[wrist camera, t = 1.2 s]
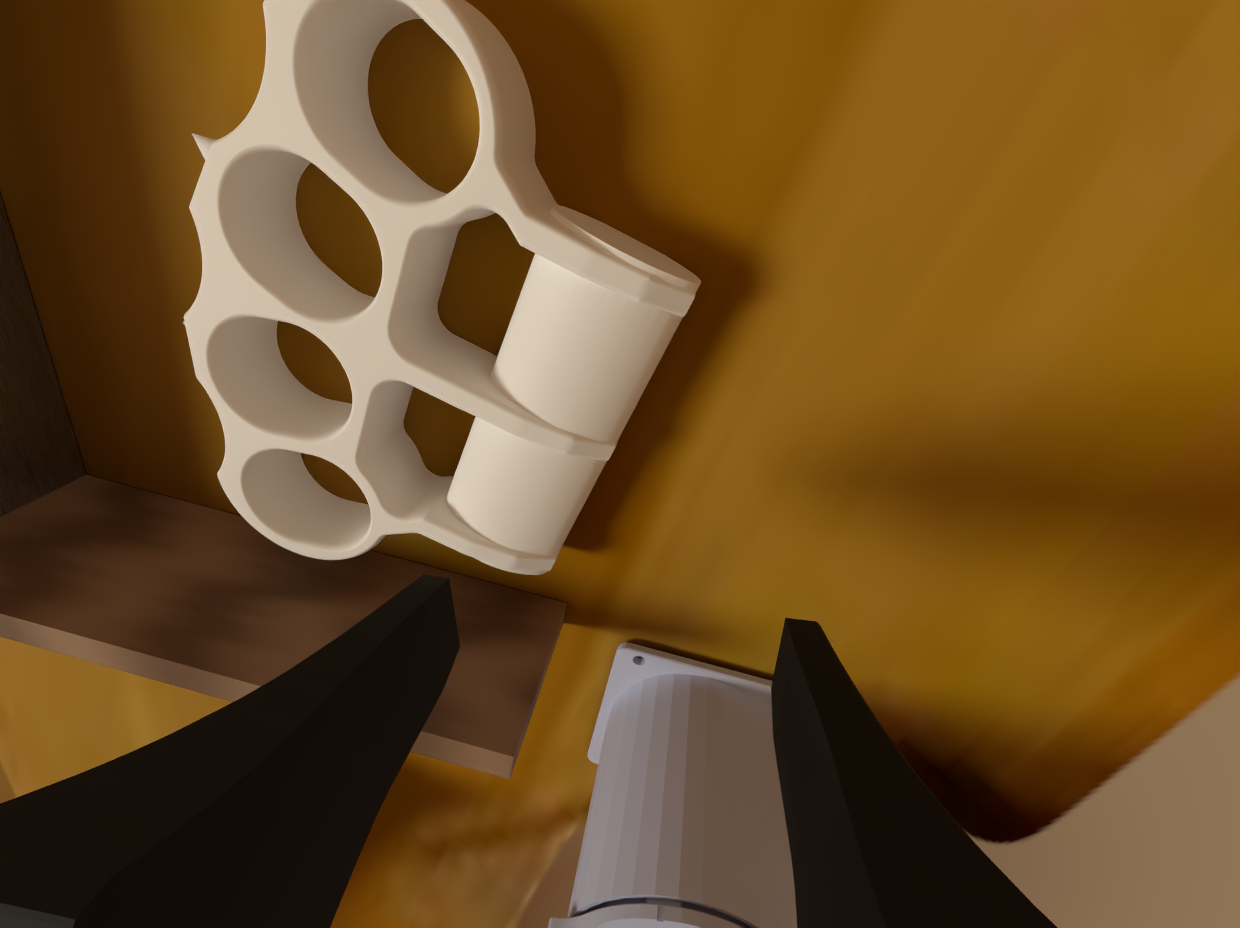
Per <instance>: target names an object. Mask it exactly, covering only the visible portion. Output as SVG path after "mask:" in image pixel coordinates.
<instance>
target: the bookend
mask: <svg viewBox="0 0 1240 928" xmlns="http://www.w3.org/2000/svg"><path fill="white" fill-rule="evenodd" d="M85 475H87V474H86V471H85V468H84V465H83V461H82V458H81V455H80V452H79V449H78V445H77V442H76V439H75V436H74V432H73V429H72V426H71V423H70V419H69V416H68V413H67V410H66V406H65V403H64V400H63V397H62V393H61V390H60V387H59V384H58V380H57V377H56V374H55V371H54V367H53V364H52V361H51V358H50V354H49V351H48V348H47V345H46V342H45V338H44V335H43V332H42V329H41V325H40V322H39V319H38V316H37V312H36V309H35V306H34V303H33V299H32V296H31V293H30V290H29V286H28V283H27V280H26V277H25V273H24V270H23V267H22V264H21V260H20V257H19V254H18V251H17V247H16V244H15V241H14V238H13V235H12V231H11V228H10V225H9V222H8V218H7V215H6V212H5V209H4V205H3V202H2V199H1V196H0V517H1V516H3V515H5V514H8V513H10V512H12V511H14V510H16V509H18V508H20V507H22V506H24V505H26V504H28V503H30V502H32V501H34V500H36V499H38V498H40V497H42V496H44V495H46V494H48V493H51V492H53V491H55V490H57V489H59V488H61V487H63V486H65V485H67V484H69V483H71V482H73V481H75V480H77V479H79V478H81V477H83V476H85Z"/></svg>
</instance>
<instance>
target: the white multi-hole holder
mask: <svg viewBox="0 0 1240 928" xmlns="http://www.w3.org/2000/svg"><path fill="white" fill-rule="evenodd" d="M263 9H264V16H265V25H266V61H265V69H264V75H263V79H262V83H261V87H260V90H259V93H258V96H257V98H256V100H255V103H254V105H253V107H252V108H251V110H250V112H249V113H248V115H247V116H246V118H245V119H244V120H243V122H242V123H241V124H240V125H239V126H238V127H237V128H236V129H235V130H233V131H232V132H231V133H229V134H228V135H226V136H224V137H222V138H220V139H218V140H217V139H213V138H209V137H205V136H201V135H197V134H193V133H192V135H193V137H194V139H195V141H196V143H197V145H198V147H199V149H200V151H201V153H202V155H203V157H204V159H205V164H204V166H203V169H202V172H201V175H200V178H199V180H198V183H197V186H196V189H195V192H194V194H193V197H192V200H191V203H190V206H189V209H190V211H191V214H192V216H193V219H194V222H195V225H196V228H197V232H198V235H199V240H200V245H201V252H202V279H201V285H200V289H199V292H198V295H197V297H196V299H195V301H194V303H193V305H192V306H191V308H190V309H189V310H188V311H187V312H186V313H185V315H184V322H182V323H183V324H184V325H185V326H186V331H187V336H188V341H189V346H190V350H191V355H192V360H193V365H194V370H195V374H196V378H197V379H198V380H199V382H200V383H201V384H202V386H203V387H204V389H205V390H206V392H207V393H208V395H209V397H210V398H211V400H212V402H213V404H214V406H215V408H216V410H217V412H218V415H219V417H220V420H221V423H222V427H223V431H224V437H225V456H224V460H223V463H222V466H221V468H220V470H219V471H218V473H217V476H218V479H219V481H220V484H221V486H222V488H223V490H224V492H225V494H226V495H227V497H228V498H229V500H230V502H231V503H232V504H233V506H234V507H235V508H236V510H237V511H238V512H239V513H240V514H241V516H242V517H243V518H244V519H245V520H246V521H247V522H248V523H249V524H250V525H251V526H253V527H254V528H255V529H256V530H257V531H258V532H260V533H261V534H262V535H264V536H265V537H267V538H268V539H270V540H271V541H273V542H274V543H276V544H278V545H280V546H281V547H283V548H286V549H288V550H290V551H292V552H295V553H298V554H300V555H304V556H307V557H311V558H316V559H323V560H342V559H348V558H353V557H356V556H359V555H361V554H364V553H366V552H367V551H369V550H371V549H372V548H374V547H375V546H376V545H377V544H379V543H380V542H381V541H382V540H383V538H384V537H385V536H386V535H390V534H404V533H419V534H422V535H424V536H426V537H428V538H430V539H432V540H435V541H437V542H439V543H441V544H443V545H445V546H447V547H450V548H452V549H454V550H456V551H458V552H460V553H463V554H465V555H468V556H471V557H473V558H475V559H477V560H479V561H481V562H483V563H485V564H488V565H490V566H493V567H495V568H498V569H501V570H505V571H509V572H513V573H518V574H526V575H541V574H544V573H546V572H547V571H550V570H551V568H552V566H553V565H554V563H555V561H556V558H557V556H558V554H559V551H560V549H561V547H562V545H563V543H564V542H565V540H566V538H567V536H568V534H569V532H570V530H571V528H572V526H573V524H574V523H575V521H576V519H577V517H578V515H579V513H580V511H581V509H582V507H583V506H584V504H585V502H586V500H587V498H588V496H589V494H590V492H591V490H592V488H593V487H594V485H595V483H596V481H597V479H598V477H599V475H600V473H601V471H602V470H603V468H604V466H605V464H606V462H607V461H608V460H609V459H610V457H611V455H612V453H613V451H614V449H615V447H616V445H617V442H618V439H619V437H620V435H621V434H622V432H623V430H624V428H625V426H626V424H627V422H628V420H629V418H630V416H631V415H632V413H633V411H634V409H635V407H636V405H637V403H638V401H639V399H640V398H641V396H642V394H643V392H644V390H645V388H646V386H647V384H648V382H649V380H650V379H651V377H652V375H653V373H654V371H655V369H656V367H657V365H658V363H659V362H660V360H661V358H662V356H663V354H664V352H665V350H666V348H667V346H668V344H669V343H670V341H671V339H672V337H673V335H674V333H675V331H676V329H677V327H678V326H679V324H680V322H681V320H682V318H683V316H685V315H686V313H687V311H688V310H689V308H690V306H691V304H692V302H693V300H694V298H695V294H696V291H697V290H698V288H699V286H700V284H701V280H700V279H699V278H698V277H697V276H696V275H694V274H693V273H692V272H690V271H689V270H688V269H686V268H685V267H683V266H681V265H680V264H678V263H677V262H675V261H674V260H672V259H670V258H669V257H667V256H666V255H664V254H662V253H660V252H658V251H656V250H654V249H652V248H650V247H649V246H647V245H645V244H643V243H641V242H639V241H637V240H635V239H633V238H631V237H630V236H628V235H626V234H624V233H622V232H620V231H618V230H616V229H614V228H612V227H611V226H609V225H607V224H605V223H603V222H601V221H598V220H596V219H594V218H592V217H589V216H587V215H585V214H582V213H580V212H577V211H575V210H572V209H570V208H567V207H564V206H560V205H558V204H557V203H556V202H555V200H554V198H553V196H552V194H551V192H550V191H549V189H548V187H547V185H546V183H545V181H544V180H543V178H542V176H541V174H540V172H539V170H538V168H537V166H536V164H535V158H534V156H535V143H536V130H535V117H534V110H533V105H532V100H531V96H530V92H529V88H528V85H527V82H526V79H525V77H524V74H523V72H522V69H521V67H520V65H519V63H518V61H517V59H516V57H515V55H514V53H513V51H512V50H511V48H510V46H509V45H508V43H507V42H506V40H505V39H504V37H503V36H502V35H501V33H500V32H499V31H498V30H497V28H496V27H495V26H494V25H493V24H492V23H491V22H490V21H489V20H488V19H487V18H486V17H485V16H484V15H483V14H482V13H481V12H480V11H479V10H477V9H476V8H475V7H474V6H472V5H471V4H470V3H468V2H467V1H465V0H264V2H263ZM412 19H423V20H424V21H425V22H426V23H427V24H428V25H429V26H430V27H431V28H432V29H433V30H434V31H435V32H436V33H437V34H438V35H439V36H440V37H441V38H442V39H443V40H444V41H445V42H446V43H447V44H448V45H449V46H450V47H451V49H452V50H453V51H454V52H455V53H456V55H457V56H458V58H459V59H460V61H461V62H462V64H463V66H464V67H465V69H466V71H467V73H468V75H469V77H470V80H471V82H472V85H473V88H474V91H475V94H476V98H477V103H478V108H479V117H480V135H479V143H478V148H477V152H476V156H475V159H474V161H473V164H472V166H471V168H470V170H469V172H468V173H467V175H466V177H465V178H464V179H463V181H462V182H461V183H460V184H459V185H458V186H457V187H456V188H455V189H453V190H452V191H451V192H449V193H448V194H446V193H443V192H441V191H438V190H436V189H434V188H432V187H431V186H429V185H428V184H426V183H425V182H424V181H422V180H421V179H420V178H419V177H418V176H417V175H416V174H415V173H414V172H413V171H412V170H410V169H409V168H408V167H407V166H406V165H405V164H404V163H403V162H402V161H401V160H400V159H399V158H398V157H397V156H396V155H395V154H394V153H393V152H392V151H391V150H390V149H389V147H388V146H387V145H386V143H385V142H384V140H383V139H382V137H381V135H380V133H379V131H378V129H377V127H376V125H375V122H374V119H373V116H372V113H371V109H370V105H369V99H368V73H369V67H370V63H371V60H372V57H373V54H374V52H375V50H376V48H377V46H378V44H379V43H380V41H381V40H382V38H383V37H384V36H385V35H386V34H387V33H388V32H389V31H390V30H391V29H392V28H394V27H395V26H397V25H399V24H401V23H403V22H405V21H408V20H412ZM310 163H313V164H314V165H316V166H317V167H318V168H319V169H321V170H322V171H323V172H324V173H325V174H326V175H327V176H329V177H330V178H331V179H332V180H333V181H334V182H335V183H336V184H338V185H339V186H340V187H341V188H342V189H343V190H344V191H345V192H347V193H348V194H349V195H350V196H351V197H352V198H353V199H354V200H355V201H356V203H357V204H358V205H359V206H360V207H361V209H362V210H363V211H364V213H365V214H366V216H367V218H368V219H369V221H370V223H371V225H372V227H373V229H374V231H375V234H376V236H377V239H378V242H379V246H380V250H381V255H382V280H381V284H380V288H379V291H378V293H377V295H376V297H371V296H368V295H366V294H363V293H361V292H359V291H357V290H355V289H354V288H352V287H351V286H350V285H348V284H347V283H346V282H345V281H343V280H342V279H341V278H340V277H339V276H338V275H336V274H335V273H334V272H333V271H332V270H331V269H329V268H328V267H327V266H326V265H325V264H324V263H323V262H322V261H321V260H320V259H319V258H318V257H317V256H316V255H315V254H314V252H313V251H312V249H311V248H310V246H309V245H308V243H307V241H306V240H305V238H304V235H303V233H302V231H301V228H300V225H299V222H298V218H297V212H296V191H297V186H298V183H299V180H300V178H301V176H302V174H303V172H304V170H305V169H306V168H307V167H308V165H309V164H310ZM494 213H497V214H499V215H500V216H501V217H502V218H503V219H504V220H505V221H506V222H507V224H508V225H509V227H510V229H511V231H512V232H513V234H514V236H515V238H516V239H517V241H518V243H519V244H520V246H522V247H524V248H526V249H528V250H530V251H532V252H534V253H535V255H534V258H533V261H532V263H531V266H530V269H529V272H528V274H527V277H526V280H525V283H524V285H523V288H522V291H521V293H520V296H519V299H518V302H517V304H516V307H515V310H514V313H513V315H512V318H511V321H510V324H509V326H508V329H507V332H506V335H505V337H504V340H503V343H502V346H501V348H500V351H499V354H498V356H496V355H494V354H492V353H490V352H488V351H486V350H484V349H482V348H480V347H478V346H476V345H474V344H472V343H470V342H468V341H466V340H464V339H462V338H460V337H458V336H456V335H454V334H452V333H451V332H450V331H448V330H447V329H446V328H445V326H444V325H443V324H442V322H441V320H440V318H439V315H438V300H439V297H440V293H441V290H442V287H443V283H444V280H445V276H446V273H447V269H448V266H449V262H450V259H451V256H452V252H453V249H454V245H455V242H456V238H457V235H458V232H459V230H460V228H461V227H462V226H463V225H464V224H465V223H466V222H468V221H472V220H476V219H481V218H484V217H487V216H490V215H492V214H494ZM278 321H282V322H287V323H291V324H294V325H297V326H299V327H301V328H304V329H305V330H307V331H309V332H311V333H312V334H314V335H315V336H316V337H318V338H319V339H320V340H321V341H323V342H324V343H325V344H326V345H327V346H328V347H329V348H330V349H331V351H332V352H333V353H334V354H335V355H336V357H337V358H338V360H339V361H340V363H341V364H342V366H343V368H344V370H345V372H346V374H347V376H348V379H349V382H350V385H351V390H352V404H351V403H346V402H341V401H336V400H331V399H327V398H324V397H321V396H319V395H317V394H315V393H313V392H312V391H310V390H309V389H307V388H306V387H305V386H303V385H302V384H301V383H300V382H299V381H298V380H297V379H296V378H295V377H294V376H293V375H292V373H291V372H290V371H289V369H288V368H287V366H286V364H285V363H284V361H283V359H282V356H281V354H280V351H279V348H278V343H277V325H278ZM413 387H415V388H418V389H420V390H422V391H424V392H426V393H428V394H430V395H432V396H434V397H436V398H438V399H440V400H442V401H444V402H446V403H448V404H450V405H452V406H455V407H457V408H459V409H461V410H464V411H466V412H468V413H470V414H472V415H474V416H476V417H475V420H474V422H473V425H472V428H471V431H470V433H469V436H468V439H467V442H466V444H465V447H464V450H463V453H462V455H461V458H460V461H459V464H458V466H457V469H456V472H455V475H454V476H448V477H441V476H437V475H435V474H433V473H431V472H430V471H429V470H428V469H427V468H426V467H425V465H424V463H423V461H422V458H421V455H420V453H419V451H418V449H417V447H416V446H415V444H414V443H413V441H412V440H411V438H410V437H409V436H408V435H407V433H406V431H405V429H404V417H405V414H406V411H407V407H408V404H409V400H410V397H411V393H412V390H413ZM301 453H304V454H309V455H314V456H317V457H320V458H323V459H325V460H327V461H329V462H331V463H333V464H335V465H336V466H338V467H339V468H341V469H342V470H343V471H345V472H346V473H347V474H348V475H349V476H350V477H351V478H352V479H353V480H354V481H355V482H356V483H357V485H358V486H359V487H360V489H361V490H362V492H363V493H364V495H365V497H366V499H367V502H368V504H364V503H359V502H354V501H349V500H346V499H342V498H340V497H337V496H335V495H333V494H332V493H330V492H328V491H327V490H325V489H324V488H323V487H322V486H320V485H319V484H318V483H317V482H316V481H315V480H314V479H313V477H312V476H311V475H310V473H309V472H308V470H307V469H306V467H305V465H304V463H303V460H302V457H301Z"/></svg>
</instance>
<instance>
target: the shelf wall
mask: <svg viewBox="0 0 1240 928" xmlns="http://www.w3.org/2000/svg"><path fill="white" fill-rule="evenodd" d="M422 575H429V576H438V577H446V578H449V579H450V585H451V591H452V598H453V604H454V610H455V617H456V623H457V629H458V635H459V642H460V648H459V651H458V654H457V656H456V659H455V662H454V664H453V667H452V669H451V672H450V674H449V677H448V679H447V682H446V684H445V687H444V689H443V691H442V693H441V695H440V697H439V699H438V701H437V703H436V704H435V706H434V708H433V710H432V712H431V714H430V716H429V717H428V719H427V721H426V723H425V725H424V727H423V729H422V730H421V732H420V734H419V736H418V738H417V740H416V741H415V743H414V745H413V747H412V749H411V750H410V752H413V753H417V754H421V755H424V756H428V757H431V758H435V759H438V760H442V761H445V762H449V763H453V764H456V765H460V766H463V767H467V768H470V769H474V770H477V771H481V772H485V773H488V774H492V775H495V776H499V777H502V778H506V779H510V777H511V774H512V771H513V768H514V765H515V762H516V759H517V756H518V753H519V750H520V748H521V745H522V742H523V739H524V736H525V733H526V730H527V727H528V724H529V721H530V718H531V715H532V712H533V709H534V707H535V704H536V701H537V698H538V695H539V692H540V689H541V686H542V683H543V680H544V677H545V674H546V671H547V668H548V666H549V663H550V660H551V657H552V654H553V651H554V648H555V645H556V642H557V639H558V636H559V633H560V630H561V628H562V625H563V620H564V616H565V611H566V606H567V603H565V602H561V601H557V600H553V599H550V598H546V597H542V596H538V595H535V594H531V593H527V592H523V591H520V590H516V589H512V588H509V587H505V586H501V585H497V584H494V583H490V582H486V581H482V580H479V579H475V578H471V577H467V576H464V575H460V574H456V573H452V572H449V571H445V570H441V569H437V568H434V567H430V566H426V565H422V564H419V563H415V562H411V561H407V560H404V559H400V558H396V557H392V556H389V555H385V554H381V553H377V552H374V551H370V550H369V551H367V552H366V553H364V554H361V555H359V556H356V557H353V558H348V559H342V560H323V559H316V558H311V557H307V556H304V555H300V554H298V553H295V552H292V551H290V550H288V549H286V548H283V547H281V546H280V545H278V544H276V543H274V542H273V541H271V540H270V539H268V538H267V537H265V536H264V535H262V534H261V533H260V532H258V531H257V530H256V529H255V528H254V527H253V526H251V525H250V524H249V523H248V522H247V521H246V520H245V519H244V518H243V517H242V516H239V515H235V514H231V513H228V512H224V511H220V510H216V509H213V508H209V507H205V506H201V505H198V504H194V503H190V502H186V501H183V500H179V499H175V498H171V497H168V496H164V495H160V494H156V493H153V492H149V491H145V490H141V489H138V488H134V487H130V486H126V485H123V484H119V483H115V482H111V481H108V480H104V479H100V478H96V477H93V476H89V475H85V476H83V477H81V478H79V479H77V480H75V481H73V482H71V483H69V484H67V485H65V486H63V487H61V488H59V489H57V490H55V491H53V492H51V493H48V494H46V495H44V496H42V497H40V498H38V499H36V500H34V501H32V502H30V503H28V504H26V505H24V506H22V507H20V508H18V509H16V510H14V511H12V512H10V513H8V514H5V515H3V516H1V517H0V637H4V638H8V639H11V640H15V641H18V642H22V643H25V644H29V645H32V646H36V647H40V648H43V649H47V650H50V651H54V652H57V653H61V654H64V655H68V656H72V657H75V658H79V659H82V660H86V661H89V662H93V663H97V664H100V665H104V666H107V667H111V668H114V669H118V670H121V671H125V672H129V673H132V674H136V675H139V676H143V677H146V678H150V679H153V680H157V681H161V682H164V683H168V684H171V685H175V686H178V687H182V688H186V689H189V690H193V691H196V692H200V693H203V694H207V695H210V696H214V697H218V698H221V699H225V700H228V701H232V702H234V701H236V700H238V699H240V698H242V697H243V696H245V695H247V694H249V693H250V692H252V691H254V690H256V689H257V688H259V687H261V686H263V685H264V684H266V683H268V682H270V681H271V680H273V679H274V678H276V677H278V676H279V675H281V674H283V673H284V672H286V671H288V670H289V669H291V668H292V667H294V666H295V665H297V664H298V663H300V662H301V661H303V660H304V659H306V658H307V657H309V656H310V655H312V654H313V653H315V652H316V651H318V650H319V649H321V648H322V647H324V646H325V645H327V644H328V643H330V642H331V641H333V640H334V639H336V638H337V637H339V636H340V635H342V634H343V633H344V632H346V631H347V630H349V629H350V628H351V627H353V626H354V625H355V624H357V623H358V622H360V621H361V620H362V619H364V618H365V617H366V616H368V615H369V614H371V613H372V612H373V611H375V610H376V609H377V608H379V607H380V606H381V605H383V604H384V603H385V602H387V601H388V600H389V599H391V598H392V597H393V596H395V595H396V594H397V593H399V592H400V591H401V590H403V589H404V588H406V587H407V586H408V585H410V584H411V583H412V582H414V581H415V580H417V579H418V578H419V577H421V576H422Z"/></svg>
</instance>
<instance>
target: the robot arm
mask: <svg viewBox="0 0 1240 928" xmlns="http://www.w3.org/2000/svg"><path fill="white" fill-rule="evenodd" d="M459 648H460V642H459V635H458V629H457V623H456V617H455V610H454V604H453V598H452V591H451V585H450V579H449V578H446V577H438V576H429V575H422V576H421V577H419V578H418V579H417V580H415V581H414V582H412V583H411V584H410V585H408V586H407V587H406V588H404V589H403V590H401V591H400V592H399V593H397V594H396V595H395V596H393V597H392V598H391V599H389V600H388V601H387V602H385V603H384V604H383V605H381V606H380V607H379V608H377V609H376V610H375V611H373V612H372V613H371V614H369V615H368V616H366V617H365V618H364V619H362V620H361V621H360V622H358V623H357V624H355V625H354V626H353V627H351V628H350V629H349V630H347V631H346V632H344V633H343V634H342V635H340V636H339V637H337V638H336V639H334V640H333V641H331V642H330V643H328V644H327V645H325V646H324V647H322V648H321V649H319V650H318V651H316V652H315V653H313V654H312V655H310V656H309V657H307V658H306V659H304V660H303V661H301V662H300V663H298V664H297V665H295V666H294V667H292V668H291V669H289V670H288V671H286V672H284V673H283V674H281V675H279V676H278V677H276V678H274V679H273V680H271V681H270V682H268V683H266V684H264V685H263V686H261V687H259V688H257V689H256V690H254V691H252V692H250V693H249V694H247V695H245V696H243V697H242V698H240V699H238V700H236V701H234V702H233V703H231V704H229V705H227V706H225V707H223V708H221V709H219V710H217V711H215V712H213V713H211V714H209V715H207V716H205V717H203V718H202V719H200V720H198V721H196V722H194V723H192V724H190V725H188V726H186V727H184V728H182V729H180V730H178V731H176V732H174V733H172V734H170V735H168V736H165V737H163V738H161V739H159V740H157V741H155V742H152V743H150V744H148V745H146V746H144V747H141V748H139V749H137V750H135V751H133V752H130V753H128V754H126V755H123V756H121V757H119V758H116V759H114V760H112V761H109V762H107V763H105V764H102V765H100V766H97V767H95V768H93V769H90V770H88V771H85V772H83V773H80V774H78V775H75V776H73V777H70V778H67V779H65V780H62V781H59V782H57V783H54V784H52V785H49V786H46V787H44V788H41V789H38V790H36V791H33V792H30V793H28V794H25V795H23V796H20V797H17V798H15V799H12V800H9V801H6V802H4V803H1V804H0V928H330V926H331V924H332V921H333V919H334V916H335V913H336V911H337V908H338V906H339V904H340V901H341V899H342V896H343V894H344V891H345V889H346V886H347V884H348V882H349V879H350V877H351V874H352V872H353V869H354V867H355V864H356V862H357V860H358V857H359V855H360V853H361V850H362V848H363V846H364V843H365V841H366V839H367V836H368V834H369V832H370V830H371V827H372V825H373V823H374V820H375V818H376V816H377V813H378V811H379V809H380V807H381V805H382V803H383V801H384V799H385V797H386V795H387V793H388V791H389V789H390V787H391V785H392V783H393V782H394V780H395V778H396V776H397V774H398V772H399V771H400V769H401V767H402V765H403V763H404V761H405V760H406V758H407V756H408V754H409V752H410V750H411V749H412V747H413V745H414V743H415V741H416V740H417V738H418V736H419V734H420V732H421V730H422V729H423V727H424V725H425V723H426V721H427V719H428V717H429V716H430V714H431V712H432V710H433V708H434V706H435V704H436V703H437V701H438V699H439V697H440V695H441V693H442V691H443V689H444V687H445V684H446V682H447V679H448V677H449V674H450V672H451V669H452V667H453V664H454V662H455V659H456V656H457V654H458V651H459ZM636 656H641V657H643V658H638V657H636ZM588 758H589V760H590V761H592V762H593V763H596V764H598V769H597V774H596V779H595V784H594V789H593V794H592V798H591V803H590V808H589V813H588V818H587V823H586V828H585V833H584V838H583V843H582V848H581V853H580V858H579V863H578V868H577V873H576V878H575V883H574V887H573V893H572V898H571V902H570V907H569V912H568V917H565V918H563V917H552V918H550V921H549V926H548V928H1057V927H1056V926H1055V925H1054V924H1053V923H1052V922H1051V921H1050V920H1049V919H1048V918H1047V917H1046V916H1045V915H1044V914H1043V913H1042V912H1041V911H1040V910H1038V909H1037V908H1036V907H1035V906H1034V905H1033V904H1032V903H1031V902H1030V900H1029V899H1028V898H1027V897H1026V896H1025V895H1024V894H1023V893H1022V892H1021V891H1020V890H1019V889H1018V888H1017V887H1016V886H1015V885H1014V884H1013V883H1012V882H1011V881H1010V880H1009V879H1008V877H1007V876H1006V875H1005V874H1004V873H1003V872H1002V871H1001V870H1000V869H999V868H998V867H997V866H996V865H995V864H994V863H993V862H992V861H991V860H990V859H989V858H988V857H987V856H986V855H985V854H984V852H983V851H982V850H981V849H980V848H979V847H978V846H977V845H976V844H975V843H974V842H973V840H972V839H971V838H970V837H969V836H968V835H967V834H966V832H965V831H964V830H963V829H962V828H961V827H960V826H959V824H958V823H957V822H956V821H955V820H954V819H953V818H952V816H951V815H950V814H949V813H948V812H947V811H946V809H945V808H944V807H943V806H942V805H941V803H940V802H939V801H938V800H937V799H936V797H935V796H934V795H933V794H932V792H931V791H930V790H929V789H928V788H927V786H926V785H925V784H924V783H923V781H922V780H921V779H920V777H919V776H918V775H917V774H916V772H915V771H914V770H913V768H912V767H911V766H910V764H909V763H908V762H907V760H906V759H905V758H904V756H903V755H902V754H901V752H900V751H899V750H898V748H897V747H896V745H895V744H894V743H893V741H892V740H891V739H890V737H889V736H888V734H887V733H886V732H885V730H884V729H883V727H882V726H881V724H880V723H879V721H878V720H877V718H876V717H875V715H874V714H873V712H872V711H871V709H870V708H869V706H868V705H867V703H866V702H865V700H864V699H863V697H862V696H861V694H860V693H859V691H858V690H857V688H856V686H855V685H854V683H853V682H852V680H851V678H850V677H849V675H848V673H847V672H846V670H845V668H844V667H843V665H842V663H841V662H840V660H839V658H838V656H837V655H836V653H835V651H834V650H833V648H832V646H831V644H830V642H829V641H828V639H827V637H826V635H825V633H824V631H823V630H822V628H821V626H820V625H819V624H818V623H817V622H815V621H807V620H798V619H790V618H785V623H784V628H783V633H782V638H781V643H780V648H779V652H778V657H777V662H776V667H775V672H774V677H773V681H770V680H767V679H763V678H759V677H756V676H752V675H748V674H744V673H741V672H737V671H733V670H730V669H726V668H722V667H718V666H715V665H711V664H707V663H703V662H700V661H696V660H692V659H689V658H685V657H681V656H677V655H674V654H670V653H666V652H663V651H659V650H655V649H651V648H648V647H644V646H640V645H636V644H633V643H622V644H620V645H619V646H618V648H617V651H616V654H615V658H614V661H613V665H612V668H611V672H610V675H609V679H608V682H607V686H606V690H605V693H604V697H603V700H602V704H601V707H600V711H599V714H598V718H597V721H596V725H595V728H594V732H593V736H592V739H591V743H590V746H589V750H588Z"/></svg>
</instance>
